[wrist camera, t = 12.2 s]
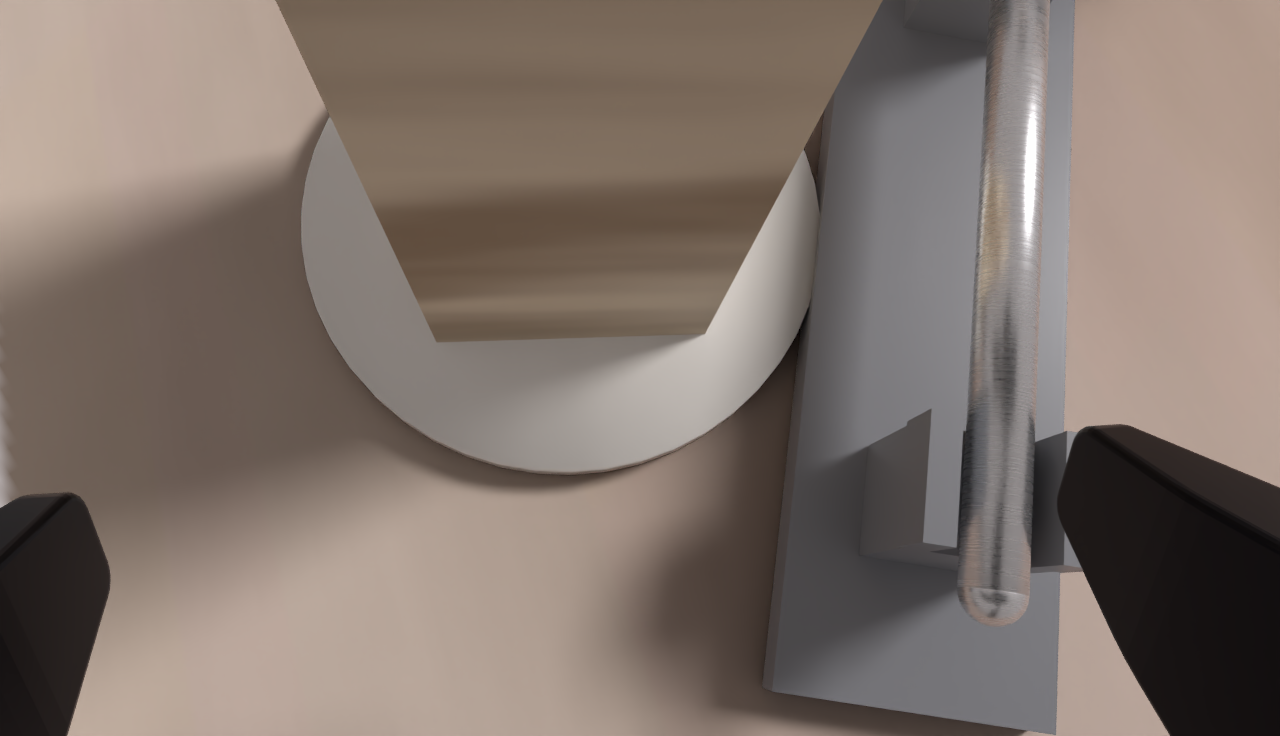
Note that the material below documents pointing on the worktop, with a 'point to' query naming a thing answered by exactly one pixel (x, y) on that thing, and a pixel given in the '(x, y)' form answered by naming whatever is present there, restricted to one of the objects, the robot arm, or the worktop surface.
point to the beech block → (574, 147)
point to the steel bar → (1005, 319)
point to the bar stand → (914, 390)
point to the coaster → (550, 343)
